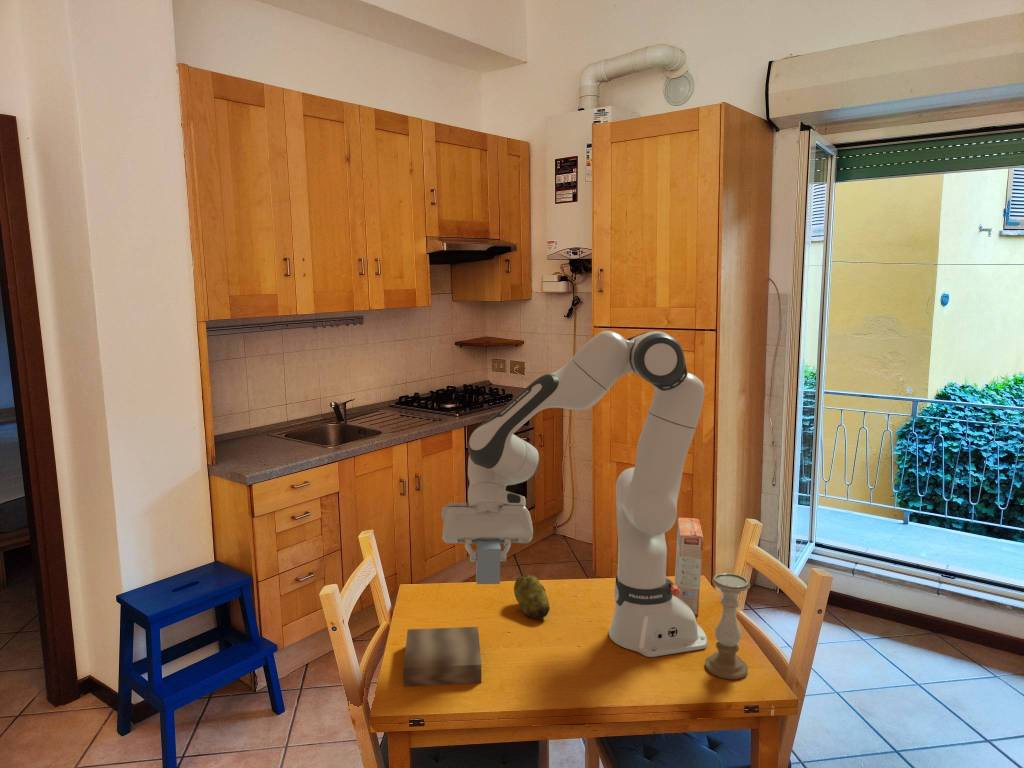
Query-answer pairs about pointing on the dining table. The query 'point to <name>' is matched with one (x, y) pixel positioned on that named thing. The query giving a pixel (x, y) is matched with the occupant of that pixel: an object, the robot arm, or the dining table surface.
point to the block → (488, 562)
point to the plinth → (442, 656)
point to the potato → (531, 596)
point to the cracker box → (689, 561)
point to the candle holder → (728, 629)
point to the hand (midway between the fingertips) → (488, 560)
